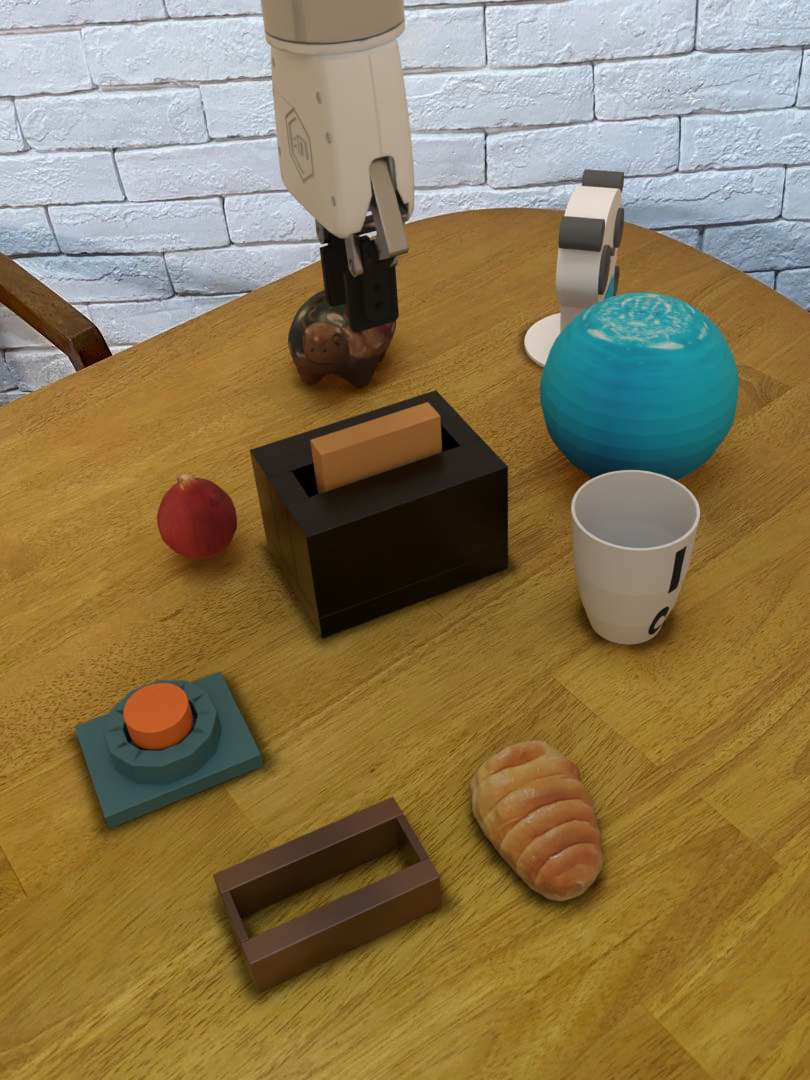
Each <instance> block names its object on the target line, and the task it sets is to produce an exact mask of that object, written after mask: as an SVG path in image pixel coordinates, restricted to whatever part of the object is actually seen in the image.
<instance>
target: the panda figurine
mask: <svg viewBox="0 0 810 1080" xmlns="http://www.w3.org/2000/svg"><path fill="white" fill-rule="evenodd" d="M624 184H625V172H624V171H615V170H614V171H613V170H601V169H587V168H584V170H583V172H582V177H581V185H576V186H575V188H574V189H573V190H572V192H571V195H570V197H569V199H568V202H567V206H566V207H565V211H564V215H562V216H561V219H560V224H559V229H558V240H557V241H558V243H557V244H558V252H557V260H556V271H555V295H556V300H557V303H558V305H559V306H560V312H557V313H554V314H551V315H548V316H546V317H543V318H541V319H540V320H538V321H536V322H535V323H534V324H532V325H531V326H530V327H529V328H528V330H527V332H526V334H525V336H524V350H525V352H526V355H527V356H528V358H530V360H531V361H533V362H534V363H535V364H537V365H538V366H540V367H541V368H543V369H544V367H545V364H546V361H547V358H548V355H549V352H550V349H551V347H552V345H553V344H554V342H555V340H556V338H557V337H558V336H559V334H560V333H561V332H562V331H563V329H564V328H565V327H566V326H567V325H568V324H569V323H570V322H571V321H572V320H573V319H574V318H575V317H577V316H578V315H579V314H580V313H581V312H583V311H584V310H585V309H587V308H589V307H591V306H593V305H594V304H596V303H599V302H601V301H603V300H605V299H607V298H610V297H614V296H617V293H618V287H619V282H620V265H616V264H617V259H618V253H619V252H618V251H619V248H620V246H621V243H622V239H623V232H624V225H625V208H624V207H622V194H623V191H624Z"/></svg>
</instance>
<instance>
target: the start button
mask: <svg viewBox="0 0 810 1080" xmlns="http://www.w3.org/2000/svg"><path fill="white" fill-rule="evenodd" d="M123 715H124V720H125V723H126V726H127V729H128V731H129V734H130V737H131V739H132V741H133V742H134V743H135V744H136V745H138V746H139V747H141V748H143V749H147V750H163V749H167V748H169V747H172V746H174V745H176V744H178V743H179V742H181V741H182V740H183V739H184V738H185V737H186V736H187V735H188V734H189V732H190V730H191V728H192V725H193V715H192V712H191V708H190V705H189V701H188V698H187V695H186V693H185V692H184V691H183V690H182V689H181V688H179V687H178V686H176V685H173V684H169V683H157V684H152V685H148V686H146V687H143V688H141V689H140V690H138V691H137V692H135V693H134V694H133V695H132V696H131V697H130V698H129V699H128V701H127V702H126V704H125V707H124V712H123Z"/></svg>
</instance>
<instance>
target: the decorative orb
mask: <svg viewBox="0 0 810 1080" xmlns="http://www.w3.org/2000/svg"><path fill="white" fill-rule="evenodd" d="M739 378H740V377H739V371H738V366H737V363H736V360H735V357H734V354H733V352H732V349H731V347H730V346H729V344H728V342H727V339H726V338H725V336H724V334H723V333H722V331H721V329H720V328H719V327H718V326H717V325H716V324H715V322H713V321H712V320H711V319H710V318H709V317H708V316H706V315H705V314H704V313H703V312H702V311H701V310H699V309H698V308H697V307H695V306H693V305H692V304H690V303H688V302H686V301H683V300H681V299H679V298H677V297H674V296H670V295H667V294H662V293H658V292H646V291H640V292H639V291H638V292H628V293H622V294H619V295H616V296H614V297H610V298H607V299H605V300H603V301H601V302H599V303H596V304H594V305H593V306H591V307H589V308H587V309H585V310H584V311H583V312H581V313H580V314H579V315H578V316H577V317H575V318H574V319H573V320H572V321H571V322H570V323H569V324H568V325H567V326H566V327H565V328H564V329H563V331H562V332H561V333H560V334H559V336H558V337H557V338H556V340H555V342H554V344H553V345H552V347H551V349H550V352H549V355H548V358H547V361H546V364H545V367H544V368H543V370H542V374H541V376H540V382H539V399H540V407H541V412H542V415H543V420H544V423H545V427H546V431H547V433H548V436H549V437H550V439H551V442H552V443H553V444H554V445H555V447H556V448H557V449H558V451H560V453H561V454H562V455H563V456H564V458H565V459H566V460H567V461H568V463H569V464H570V465H571V466H573V468H575V469H576V470H577V471H580V472H581V473H583V474H584V475H586V476H587V477H589V478H590V479H593V478H595V477H597V476H599V475H602V474H606V473H609V472H614V471H622V470H640V471H648V472H653V473H657V474H661V475H664V476H667V477H669V478H671V479H673V480H675V481H677V482H679V481H680V480H682V479H683V478H685V477H687V476H688V475H690V474H692V473H693V472H695V471H697V470H698V469H700V468H702V466H704V465H705V464H706V463H707V462H708V461H709V460H711V458H712V456H713V455H714V454H715V452H716V451H717V449H718V448H719V447H720V446H721V444H722V443H723V442H724V440H725V439H726V437H727V436H728V434H729V432H730V431H731V428H732V427H733V424H734V421H735V417H736V413H737V407H738V398H739V388H740V387H739V385H740V379H739Z"/></svg>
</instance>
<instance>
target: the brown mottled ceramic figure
mask: <svg viewBox="0 0 810 1080" xmlns="http://www.w3.org/2000/svg"><path fill="white" fill-rule="evenodd" d="M396 328H397V320H396V321H394V322H391V323H388V324H384V325H381V326H378V327H374V328H371V329H368V330H364V331H361V332H354V331H353V330H352V329H351V328H350V327H349V323H348V314H347V304H342V305H339V306H335V307H332V306H330V305H329V304H328V303H327V301H326V298H325V289H322V290H320V291H317V292H316V293H315V294H313V295H311V296H310V297H309V298H308V299H306V301H305V302H304V303H303V304H302V305H301V306H300V307H299V309H298V310H297V312H296V313H295V315H294V317H293V319H292V322H291V324H290V327H289V332H288V336H287V346H288V350H289V354H290V356H291V359H292V363H293V364H294V365H295V368H296V371H297V373H298V375H299V377H300V379H301V380H302V381H303V382H304V383H305V385H308V386H313V385H317V384H318V383H319V382H320V381H321V380H322V379H324V378H325V377H326V376H338V377H340V378H341V379H343V380H345V381H347V382H348V383H349V384H350V385H351V386H353V387H355V388H356V389H364V388H365V387H368V385H369V384H370V382H371V381H372V378H373V376H374V374H375V372H376V370H377V367H378V365H379V364H380V363H381V362H382V361H383V360H384V358H385V356H386V354H387V350H388V348H389V346H390V345H391V343H392V340H393V338H394V335H395V332H396Z"/></svg>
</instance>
